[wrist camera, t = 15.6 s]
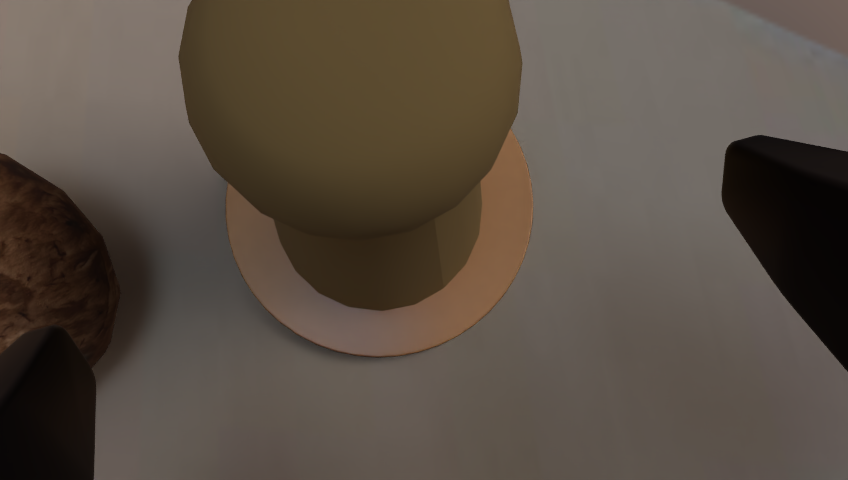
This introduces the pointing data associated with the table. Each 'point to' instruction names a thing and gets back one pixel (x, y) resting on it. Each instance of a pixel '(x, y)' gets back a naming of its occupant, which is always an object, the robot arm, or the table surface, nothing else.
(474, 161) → the pepper shaker
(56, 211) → the mushroom
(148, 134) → the table surface
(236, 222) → the coaster
